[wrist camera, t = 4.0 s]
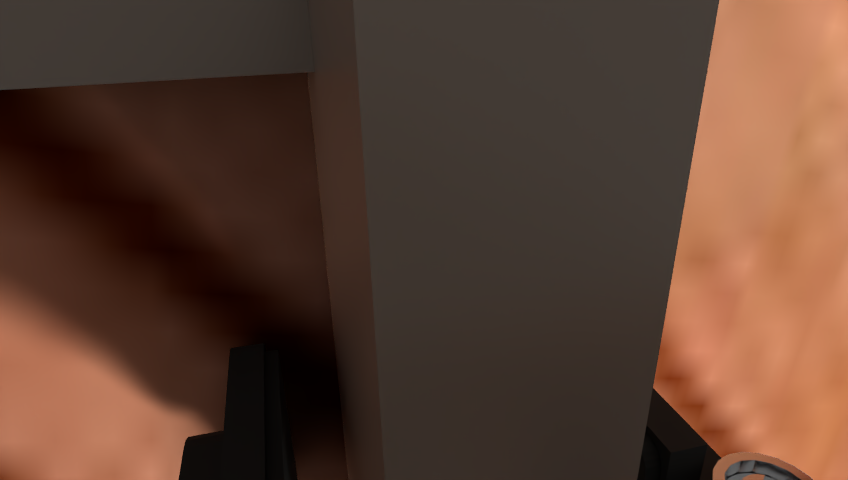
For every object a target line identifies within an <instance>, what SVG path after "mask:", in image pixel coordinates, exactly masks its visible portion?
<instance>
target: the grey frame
mask: <svg viewBox="0 0 848 480" xmlns="http://www.w3.org/2000/svg"><path fill="white" fill-rule="evenodd" d="M718 4H719V0H0V90H10V89H28V88H45V87H62V86H79V85H97V84H114V83H131V82H148V81H166V80H183V79H200V78H217V77H235V76H252V75H269V74H286V73H304V72H307V77H308V87H309V97H310V107H311V117H312V127H313V137H314V146H315V156H316V166H317V176H318V186H319V196H320V206H321V216H322V225H323V235H324V245H325V255H326V265H327V275H328V285H329V294H330V304H331V314H332V324H333V334H334V344H335V354H336V363H337V373H338V383H339V393H340V403H341V413H342V423H343V432H344V442H345V452H346V462H347V472H348V480H637V477H638V472H639V466H640V460H641V454H642V448H643V442H644V436H645V431H646V425H647V419H648V413H649V407H650V401H651V396H652V390H653V384H654V378H655V372H656V366H657V360H658V355H659V349H660V343H661V337H662V331H663V325H664V320H665V314H666V308H667V302H668V296H669V290H670V285H671V279H672V273H673V267H674V261H675V255H676V249H677V244H678V238H679V232H680V226H681V220H682V214H683V209H684V203H685V197H686V191H687V185H688V179H689V174H690V168H691V162H692V156H693V150H694V144H695V138H696V133H697V127H698V121H699V115H700V109H701V103H702V98H703V92H704V86H705V80H706V74H707V68H708V63H709V57H710V51H711V45H712V39H713V33H714V27H715V22H716V16H717V10H718Z"/></svg>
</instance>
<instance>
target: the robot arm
mask: <svg viewBox="0 0 848 480" xmlns="http://www.w3.org/2000/svg"><path fill="white" fill-rule="evenodd" d="M179 480H297V471H296V464H295V458H294V451H293V444H292V438H291V431H290V424H289V417H288V411H287V404H286V397H285V391H284V384H283V377H282V370H281V364H280V357H279V351H278V350H272V351H266V348H265V344H264V343H261V344H255V345H249V346H242V347H236V348H231V349H230V357H229V370H228V382H227V395H226V407H225V420H224V431H218V432H213V433H208V434H202V435H197V436H192V437H188V438H187V439H186V442H185V446H184V450H183V456H182V463H181V469H180V475H179ZM637 480H813V479H812V478H811V477H810V476H808V475H807V474H805V473H804V472H802V471H801V470H799V469H798V468H796V467H795V466H793V465H791V464H788V463H786V462H784V461H782V460H780V459H777V458H774V457H771V456H767V455H763V454H759V453H748V452H740V453H734V454H729V455H727V456H725V457H723V458H722V459H721V458H720V456H719V455H718V454H717V453H716V452H715V451H714V450H713V449H712V448H711V447H710V446H709V445H708V444H707V443H706V442H705V441H704V440H703V439H702V438H701V437H700V436H699V435H698V434H697V433H696V432H695V431H694V430H693V429H692V428H691V426H690V425H689V424H688V423H687V422H686V421H685V420H684V419H683V418H682V417H681V416H680V415H679V414H678V413H677V412H676V411H675V410H674V409H673V408H672V407H671V406H670V405H669V404H668V403H667V402H666V401H665V400H664V399H663V398H662V397H661V396H660V395H659V394H658V393H657V392H656V391H655V390H654V389H653V390H652V396H651V401H650V407H649V413H648V419H647V425H646V431H645V436H644V442H643V448H642V454H641V460H640V466H639V472H638V477H637Z"/></svg>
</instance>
